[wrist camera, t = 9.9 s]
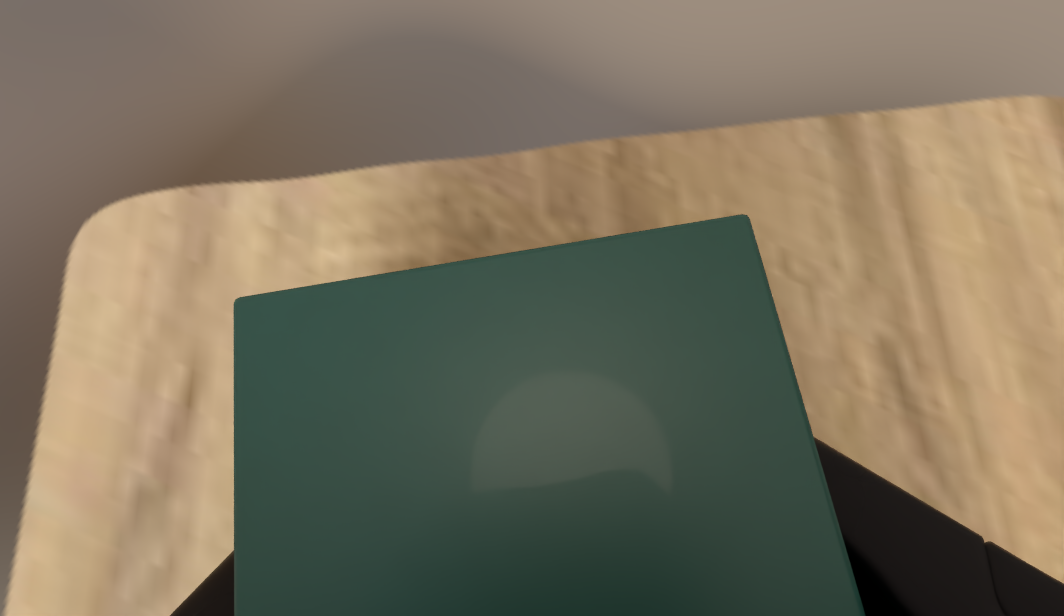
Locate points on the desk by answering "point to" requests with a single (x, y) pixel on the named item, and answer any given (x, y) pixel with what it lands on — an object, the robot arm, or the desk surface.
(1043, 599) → the robot arm
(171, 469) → the desk surface
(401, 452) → the tea packet
